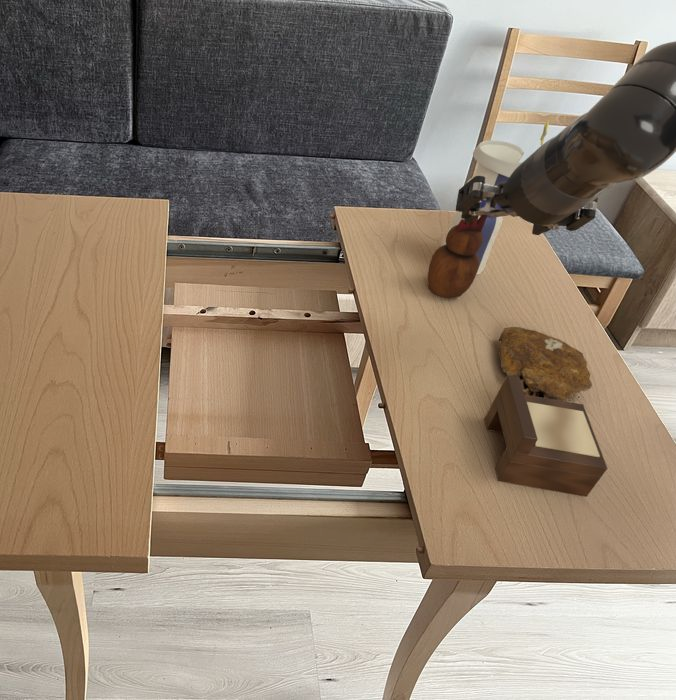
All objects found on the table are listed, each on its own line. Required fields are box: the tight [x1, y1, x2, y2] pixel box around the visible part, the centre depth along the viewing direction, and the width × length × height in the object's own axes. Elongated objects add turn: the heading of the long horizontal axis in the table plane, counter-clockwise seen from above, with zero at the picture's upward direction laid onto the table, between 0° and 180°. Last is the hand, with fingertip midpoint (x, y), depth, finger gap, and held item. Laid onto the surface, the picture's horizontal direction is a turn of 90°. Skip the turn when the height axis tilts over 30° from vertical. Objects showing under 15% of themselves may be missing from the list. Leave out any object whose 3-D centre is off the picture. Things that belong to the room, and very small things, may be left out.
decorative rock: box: [497, 326, 593, 401], centre depth 92 cm, size 11×4×15 cm
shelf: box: [484, 374, 608, 497], centre depth 80 cm, size 10×10×8 cm
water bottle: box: [441, 120, 550, 276], centre depth 106 cm, size 8×9×25 cm
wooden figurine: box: [427, 215, 487, 299], centre depth 102 cm, size 7×6×15 cm
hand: (501, 221), depth 87 cm, fingers open, 8 cm apart
